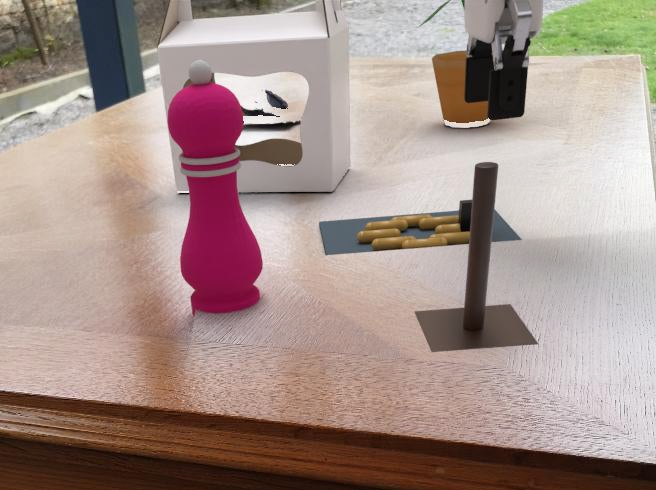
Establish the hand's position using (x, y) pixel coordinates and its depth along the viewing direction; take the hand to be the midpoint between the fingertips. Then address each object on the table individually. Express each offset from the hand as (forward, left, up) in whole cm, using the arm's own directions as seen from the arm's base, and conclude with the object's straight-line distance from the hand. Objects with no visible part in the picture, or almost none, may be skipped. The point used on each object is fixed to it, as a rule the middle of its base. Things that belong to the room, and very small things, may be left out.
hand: (492, 109), depth 75 cm
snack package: (+21, -73, -13) cm, 77 cm away
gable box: (+23, -32, -13) cm, 41 cm away
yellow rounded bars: (+7, 0, -12) cm, 14 cm away
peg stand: (+7, +25, -12) cm, 29 cm away
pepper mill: (+27, +15, -13) cm, 33 cm away
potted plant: (-11, -59, -13) cm, 62 cm away
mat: (+7, 0, -12) cm, 14 cm away
